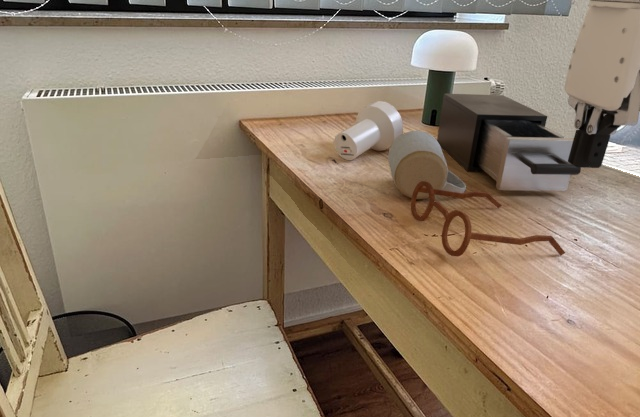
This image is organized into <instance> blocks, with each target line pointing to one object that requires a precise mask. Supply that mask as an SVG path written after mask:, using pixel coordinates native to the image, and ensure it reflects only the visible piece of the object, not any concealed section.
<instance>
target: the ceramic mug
mask: <svg viewBox="0 0 640 417" xmlns="http://www.w3.org/2000/svg"><path fill="white" fill-rule="evenodd" d="M387 158H388V159H387V160H388V161H387V162H388V165H389V169H390V174H391V178H392V181H393V183H394V186H395V187H396V189H397V190H398V191H399V192H400V193H401V194H402V195H403V196H405V197H407V198H409V199H412V195H413V192H414V189H415V187H416V186H417V184H418V183H419V182H421V181H425V182H429V183H430V184H431V185H432V187H433V189H438V190H445V191H451V192H458V193H465V191H466V190H467V186H466V183H465V182H464V181H463V180H462V178H460V177H459V176H458V175H456V174H455V173H454V172H452V171H451V170H450V169H449V168H448V163H447V160H446V158H445V156H444V153H443V148H442V147H441V146H440V144H439V143H438V141H437V138H435V137H434V136H433V135H432V134H430V133H428V132H426V131H422V130H409V131H406V132H403V134H402V135H400V136H399V137H398V138H397V139H396V140H395V141H394V142H393V144H392V145H391V147H389V150H388V156H387ZM423 187H425V186H423ZM425 188H426V187H425ZM434 195H435V194H434ZM435 196H436V195H435ZM426 199H429V193H422V192H418V195H417V198H416V200H426Z"/></svg>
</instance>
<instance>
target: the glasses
mask: <svg viewBox="0 0 640 417" xmlns="http://www.w3.org/2000/svg"><path fill="white" fill-rule="evenodd" d="M423 186H425V187H426V188H425V187H423ZM418 192H422V193H429V198H428V204H427V207H426V209H425V211H424V212H423V214H422V215H420V214H419V213H418V210H417V207H416V206H417V205H416V203H417V199H416V198H417V195H418ZM434 194H435V195H434ZM436 196H443V197H449V198H454V199H455V198H457V199H469V198H486V199H487V200H488V201H489V202H490V203H491V204H492V205H493V206H494V207H496V209H500V208H501V207H502V204H501V203H500V202H499V201H497V200H496V198H494V197H493V196H492V195H491V194H490V193H489V192H485V191H467V192H464V193H458V192H451V191H445V190H438V189H433V187H432V185H431V184H430V183H429V182H425V181H421V182H419V183H418V184H417V186H416V187H415V189H414V192H413V195H412V198H410V199H411V200H410V213H411V215H412V217H413V219H414V220H416V221H418V222H425V221H426V220H428V218H429V216H430V214H431V213H432V211H433V208H435V209H437V211H438V212H440V214H442V216H443V218H444V223H443V227H442V229H441V230H442V231H441V244H442V248H443V249H444V251H445V252H446V254H448V255H449V256H451V257H456V258H457V257H460V256H462V255H463V254H464V253H465V252H466V250H467V249H468V247H469V244H470V242H471V240H476V241H482V242H492V243H499V244H507V245H517V246H522V245H526V244H530V243H531V244H532V243H534V242H535V243H537V242H548V243H549V244H550V246H551V247H552V248H553V249H554V250H555V251H556V253H558V255H559V256H560V257H562V256H563V255H564V254H566V251H565V250H564V249H563V248H562V247H561V245H560V244H559V243H558V241H557V240H556V239H555V238H554V237H553V236H552V235H546V234H545V235H544V234H543V235H542V234H540V235H539V234H534V235H530V236H525V237H521V238H519V237H511V236H506V235H505V236H503V235H496V234H489V233H480V232H472V222H471V220H470V218H469V216H468V215H467V213H466V212H464V211H462V210H458V209H457V210H456V209H455V210H452V211H450V212H449V210H448V209H447V208H446V207H445V206H444V205H443V204H441V203H440V202H439V201H435V200H436ZM456 217H459V218H460V219H461V220H462V222H463V224H464V237H463V240H462V243H461V245H460V246H459V248H457V249H456V250H454V249H453V248H452V247H451V246H450V244H449V239H448V234H449V230H450V229H449V228H450V225H451V223H452V221H453V219H454V218H456Z"/></svg>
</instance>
